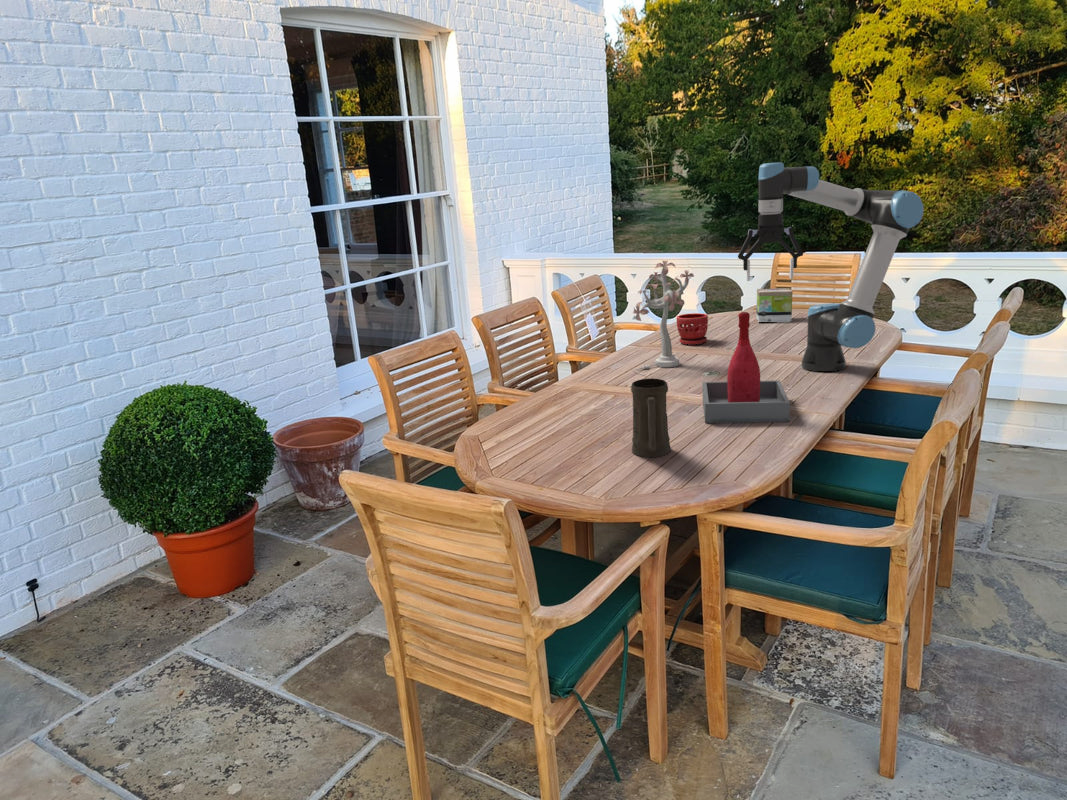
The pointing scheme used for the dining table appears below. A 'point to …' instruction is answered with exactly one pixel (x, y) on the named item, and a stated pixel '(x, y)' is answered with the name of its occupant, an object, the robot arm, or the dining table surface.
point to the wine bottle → (743, 368)
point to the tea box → (774, 305)
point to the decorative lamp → (663, 302)
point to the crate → (745, 404)
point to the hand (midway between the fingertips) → (769, 279)
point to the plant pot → (692, 328)
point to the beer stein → (650, 418)
